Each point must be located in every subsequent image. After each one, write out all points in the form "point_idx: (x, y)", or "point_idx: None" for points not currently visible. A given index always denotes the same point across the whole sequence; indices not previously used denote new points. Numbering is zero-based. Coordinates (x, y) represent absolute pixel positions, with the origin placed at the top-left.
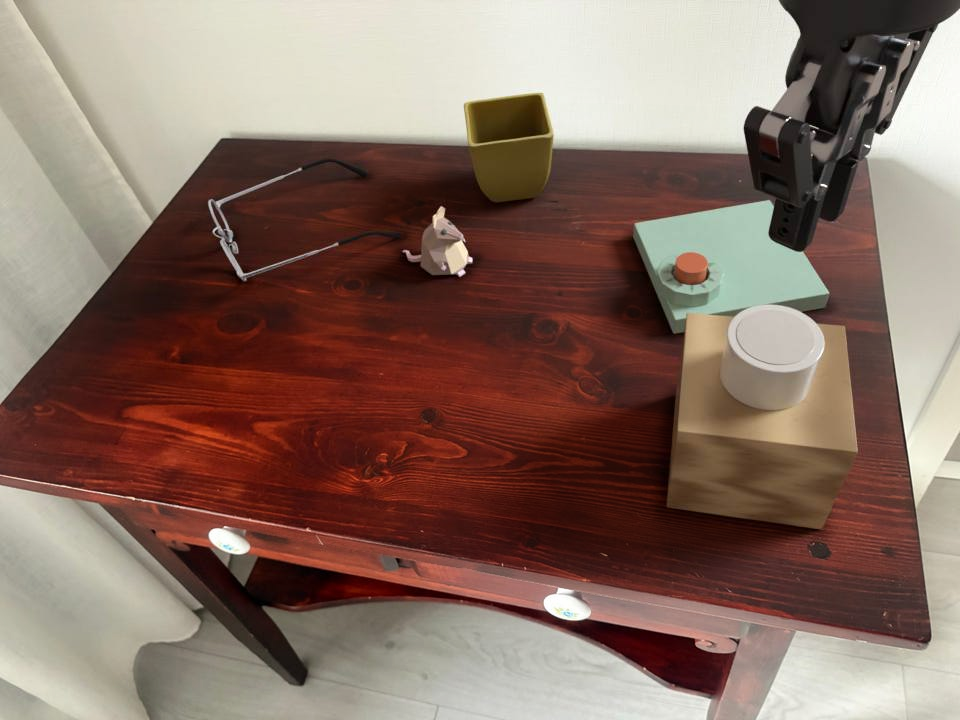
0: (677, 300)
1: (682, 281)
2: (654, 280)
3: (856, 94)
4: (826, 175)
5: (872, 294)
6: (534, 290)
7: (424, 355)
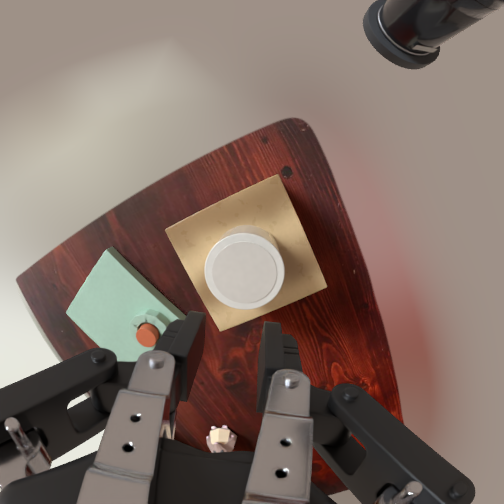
0: None
1: (158, 334)
2: None
3: None
4: (292, 397)
5: (88, 226)
6: (209, 394)
7: None
